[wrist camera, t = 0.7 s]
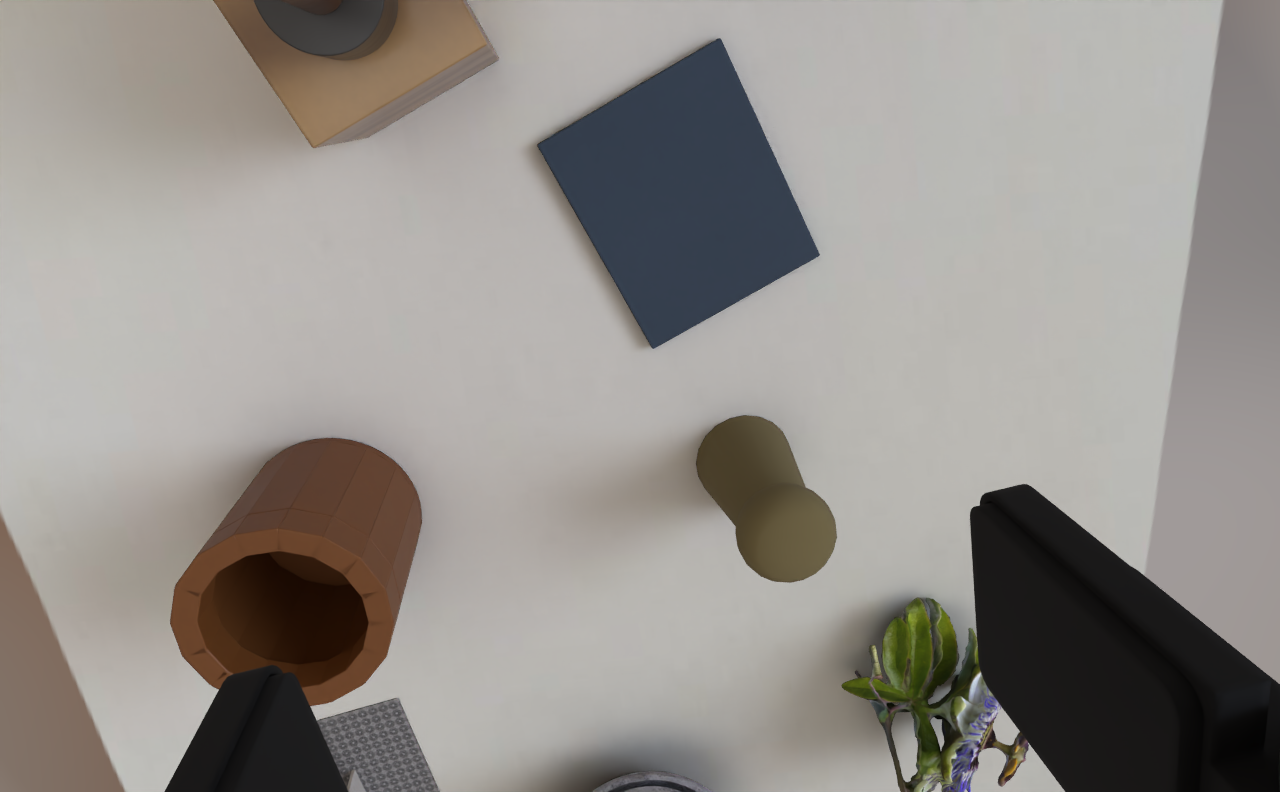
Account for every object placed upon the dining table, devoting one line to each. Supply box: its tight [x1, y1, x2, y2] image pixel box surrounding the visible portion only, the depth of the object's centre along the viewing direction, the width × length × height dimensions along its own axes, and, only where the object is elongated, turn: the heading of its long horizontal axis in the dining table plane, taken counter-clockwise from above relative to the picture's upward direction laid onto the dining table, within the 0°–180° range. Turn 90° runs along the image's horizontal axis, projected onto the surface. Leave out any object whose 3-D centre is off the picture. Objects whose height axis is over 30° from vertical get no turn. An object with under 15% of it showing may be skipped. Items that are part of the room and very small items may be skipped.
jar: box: [170, 438, 422, 706], centre depth 44 cm, size 10×10×11 cm
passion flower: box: [842, 598, 1029, 792], centre depth 55 cm, size 11×11×12 cm
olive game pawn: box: [696, 415, 837, 582], centre depth 46 cm, size 6×6×11 cm
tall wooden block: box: [213, 0, 499, 148], centre depth 35 cm, size 8×8×11 cm
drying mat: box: [538, 38, 820, 349], centre depth 45 cm, size 13×11×1 cm
